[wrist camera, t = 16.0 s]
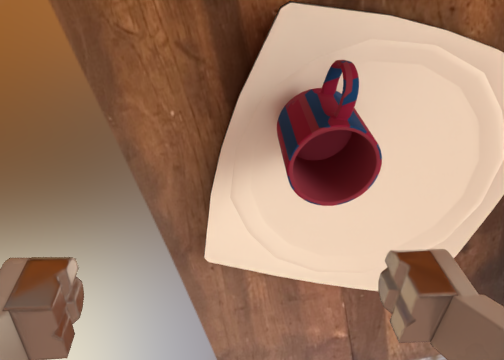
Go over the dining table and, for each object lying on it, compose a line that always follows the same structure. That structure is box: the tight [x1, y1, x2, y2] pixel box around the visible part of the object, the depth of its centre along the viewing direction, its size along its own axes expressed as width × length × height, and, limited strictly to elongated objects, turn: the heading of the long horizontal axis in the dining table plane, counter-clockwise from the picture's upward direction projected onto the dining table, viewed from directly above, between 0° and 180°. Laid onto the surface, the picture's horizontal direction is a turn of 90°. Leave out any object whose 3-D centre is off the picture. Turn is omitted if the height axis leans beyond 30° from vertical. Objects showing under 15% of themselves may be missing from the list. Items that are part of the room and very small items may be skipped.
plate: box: [204, 1, 504, 291], centre depth 39 cm, size 29×29×3 cm
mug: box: [277, 60, 382, 206], centre depth 31 cm, size 7×10×7 cm
